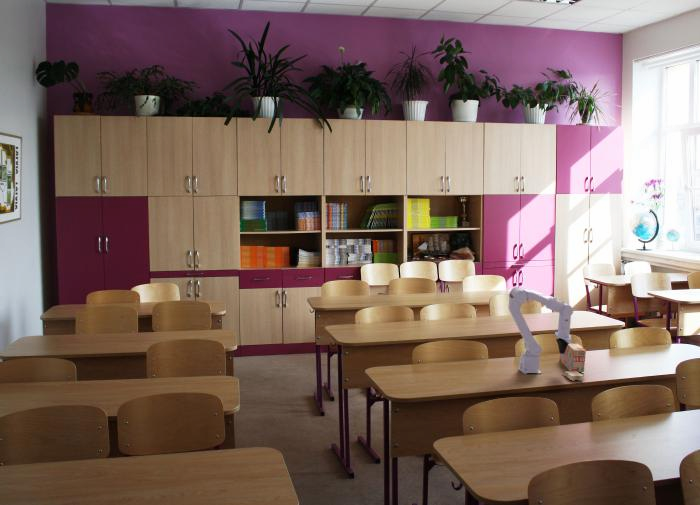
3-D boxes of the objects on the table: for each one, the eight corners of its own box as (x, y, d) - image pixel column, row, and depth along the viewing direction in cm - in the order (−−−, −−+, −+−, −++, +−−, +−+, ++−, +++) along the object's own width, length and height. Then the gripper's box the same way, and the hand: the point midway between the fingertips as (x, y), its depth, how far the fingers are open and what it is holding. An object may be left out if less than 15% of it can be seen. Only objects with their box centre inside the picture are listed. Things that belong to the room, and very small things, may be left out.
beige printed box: (559, 360, 379) (560, 338, 377) (570, 361, 379) (572, 338, 377) (572, 373, 358) (573, 349, 356) (584, 373, 358) (586, 350, 356)
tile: (565, 376, 350) (571, 380, 344) (565, 371, 350) (572, 375, 343) (576, 375, 351) (583, 380, 345) (576, 371, 351) (583, 375, 344)
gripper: (578, 330, 349) (576, 357, 350) (564, 323, 363) (562, 349, 365) (565, 330, 347) (563, 357, 349) (551, 323, 361) (550, 349, 363)
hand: (562, 353), depth 357 cm, fingers closed
